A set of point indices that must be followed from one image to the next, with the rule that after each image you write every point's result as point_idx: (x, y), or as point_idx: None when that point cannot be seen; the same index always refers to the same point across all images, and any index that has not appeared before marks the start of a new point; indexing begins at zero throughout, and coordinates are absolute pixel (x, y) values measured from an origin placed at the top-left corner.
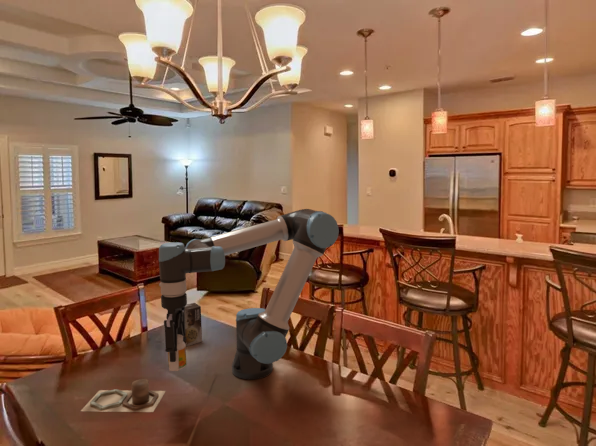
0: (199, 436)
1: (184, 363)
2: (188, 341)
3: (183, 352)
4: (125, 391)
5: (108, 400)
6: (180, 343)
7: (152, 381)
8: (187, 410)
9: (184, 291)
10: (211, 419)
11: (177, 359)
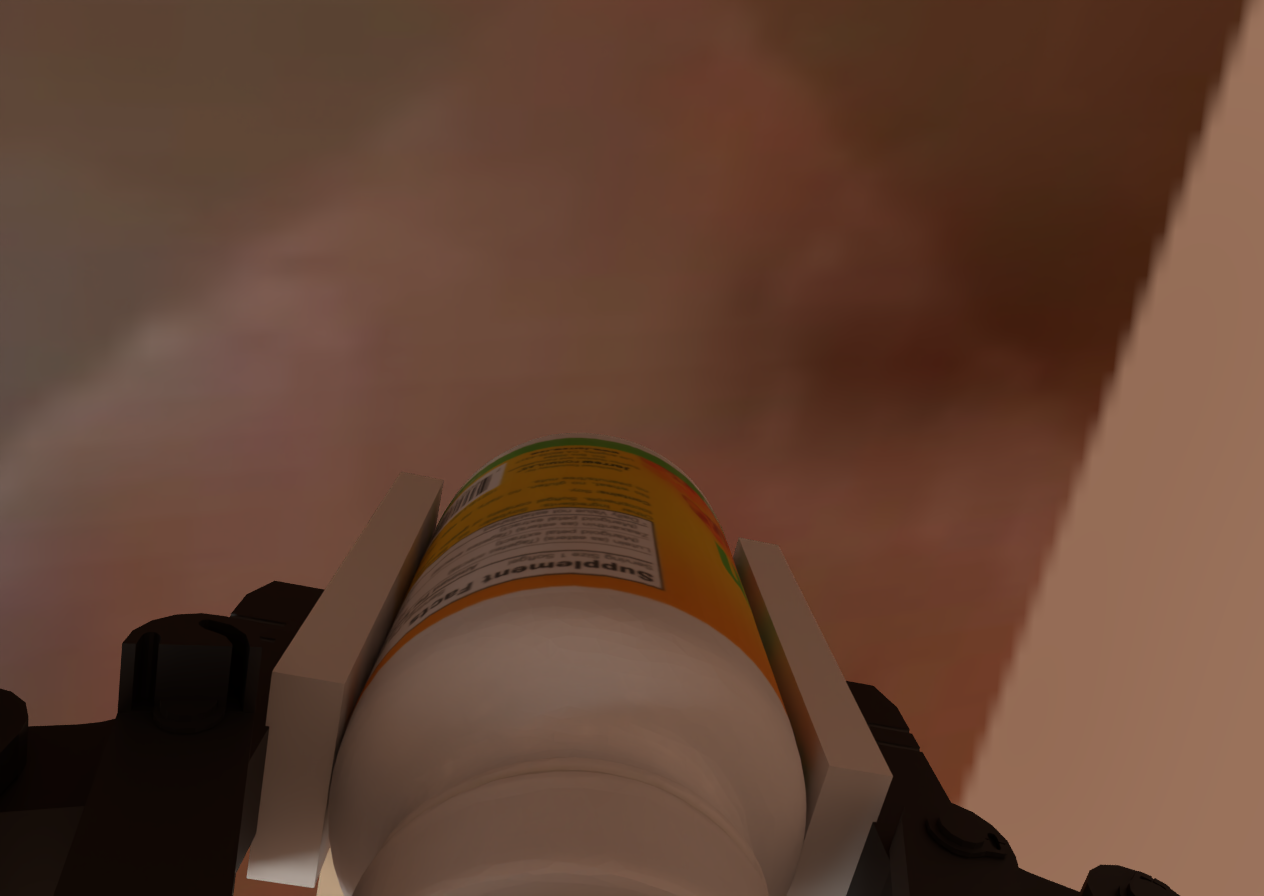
0: (1128, 192)
1: (674, 478)
2: None
3: (706, 585)
4: (336, 885)
5: None
6: (692, 790)
7: (98, 685)
8: (691, 317)
9: None
10: (904, 75)
11: (829, 655)
